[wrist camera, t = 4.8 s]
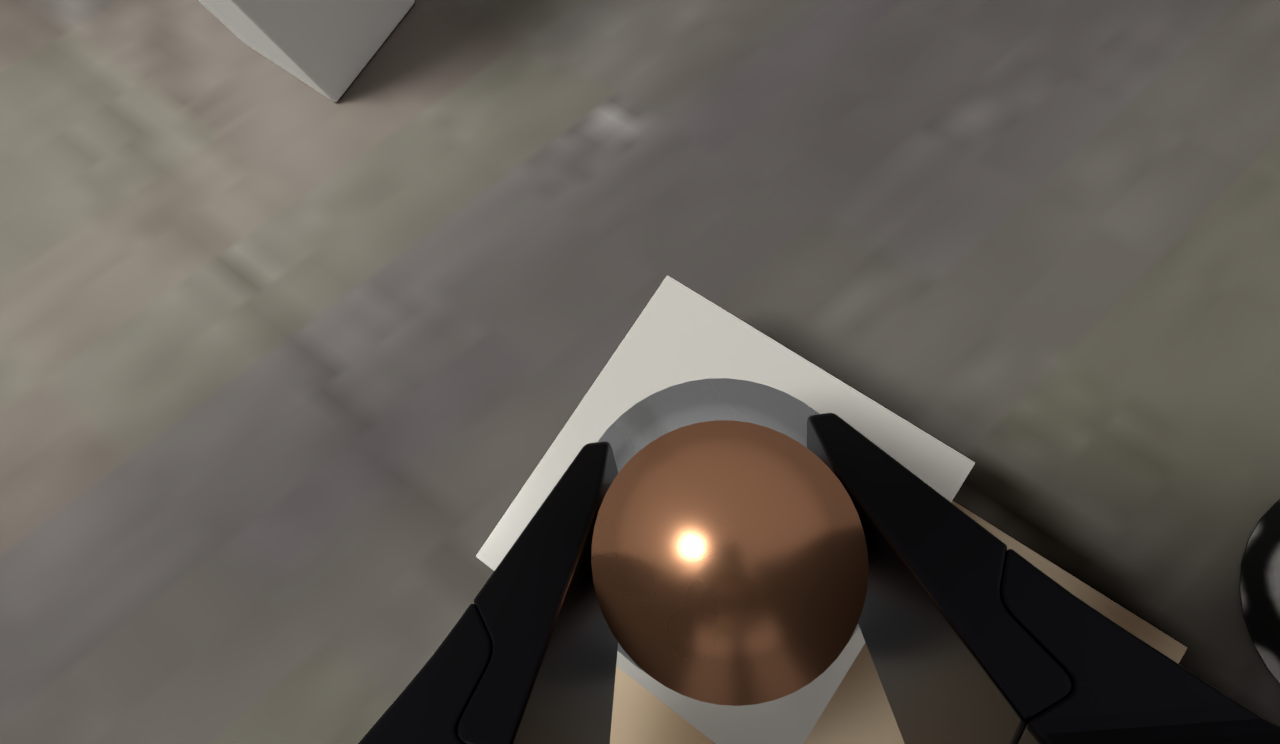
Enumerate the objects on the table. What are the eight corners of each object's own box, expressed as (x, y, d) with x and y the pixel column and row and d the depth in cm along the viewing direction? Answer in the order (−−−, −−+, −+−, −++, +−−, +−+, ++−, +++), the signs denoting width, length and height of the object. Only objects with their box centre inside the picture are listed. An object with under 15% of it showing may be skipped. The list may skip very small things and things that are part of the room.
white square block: (896, 465, 20) (975, 462, 14) (754, 692, 19) (774, 789, 13) (678, 329, 22) (667, 275, 16) (541, 532, 21) (475, 556, 15)
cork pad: (1174, 642, 18) (1188, 647, 18) (860, 1199, 17) (865, 1221, 16) (679, 331, 22) (678, 329, 22) (385, 768, 21) (378, 775, 20)
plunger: (852, 482, 15) (1051, 498, 6) (745, 651, 15) (801, 916, 6) (688, 377, 16) (664, 264, 7) (585, 532, 16) (428, 611, 7)
